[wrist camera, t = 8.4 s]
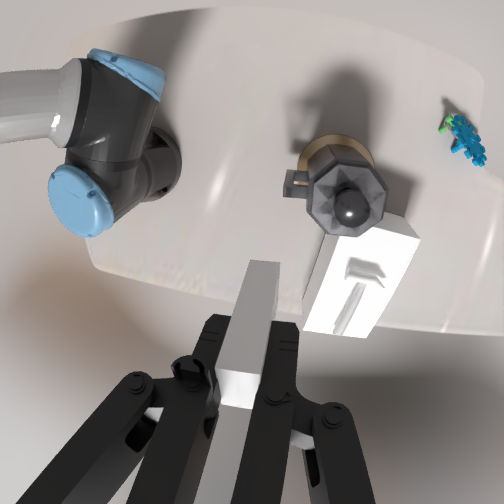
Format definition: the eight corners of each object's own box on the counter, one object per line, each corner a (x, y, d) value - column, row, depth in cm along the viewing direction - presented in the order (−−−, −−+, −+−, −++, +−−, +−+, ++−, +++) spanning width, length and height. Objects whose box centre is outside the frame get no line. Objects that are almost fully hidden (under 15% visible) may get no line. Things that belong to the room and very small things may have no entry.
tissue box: (403, 217, 47) (425, 246, 38) (359, 310, 61) (367, 346, 52) (336, 198, 47) (347, 227, 38) (301, 301, 61) (302, 338, 52)
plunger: (313, 198, 45) (316, 237, 33) (317, 153, 41) (323, 175, 29) (358, 203, 44) (376, 242, 32) (364, 158, 40) (388, 183, 28)
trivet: (294, 206, 50) (294, 207, 50) (298, 130, 43) (298, 131, 42) (368, 213, 48) (369, 215, 47) (378, 140, 41) (379, 140, 40)
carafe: (286, 198, 49) (280, 234, 37) (288, 139, 43) (283, 154, 32) (362, 205, 47) (380, 243, 35) (369, 148, 41) (394, 167, 29)
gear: (489, 144, 33) (487, 175, 31) (469, 155, 39) (464, 186, 37) (454, 100, 33) (449, 125, 30) (435, 115, 39) (426, 141, 36)
